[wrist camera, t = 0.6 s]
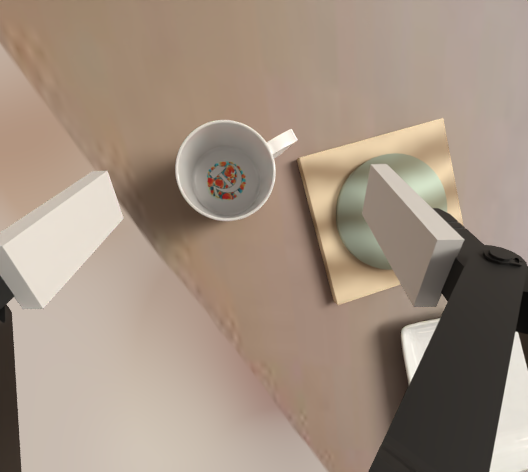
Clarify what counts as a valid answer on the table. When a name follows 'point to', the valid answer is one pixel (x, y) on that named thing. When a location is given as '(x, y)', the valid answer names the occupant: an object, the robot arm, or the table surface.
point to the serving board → (353, 195)
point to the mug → (228, 168)
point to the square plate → (513, 405)
